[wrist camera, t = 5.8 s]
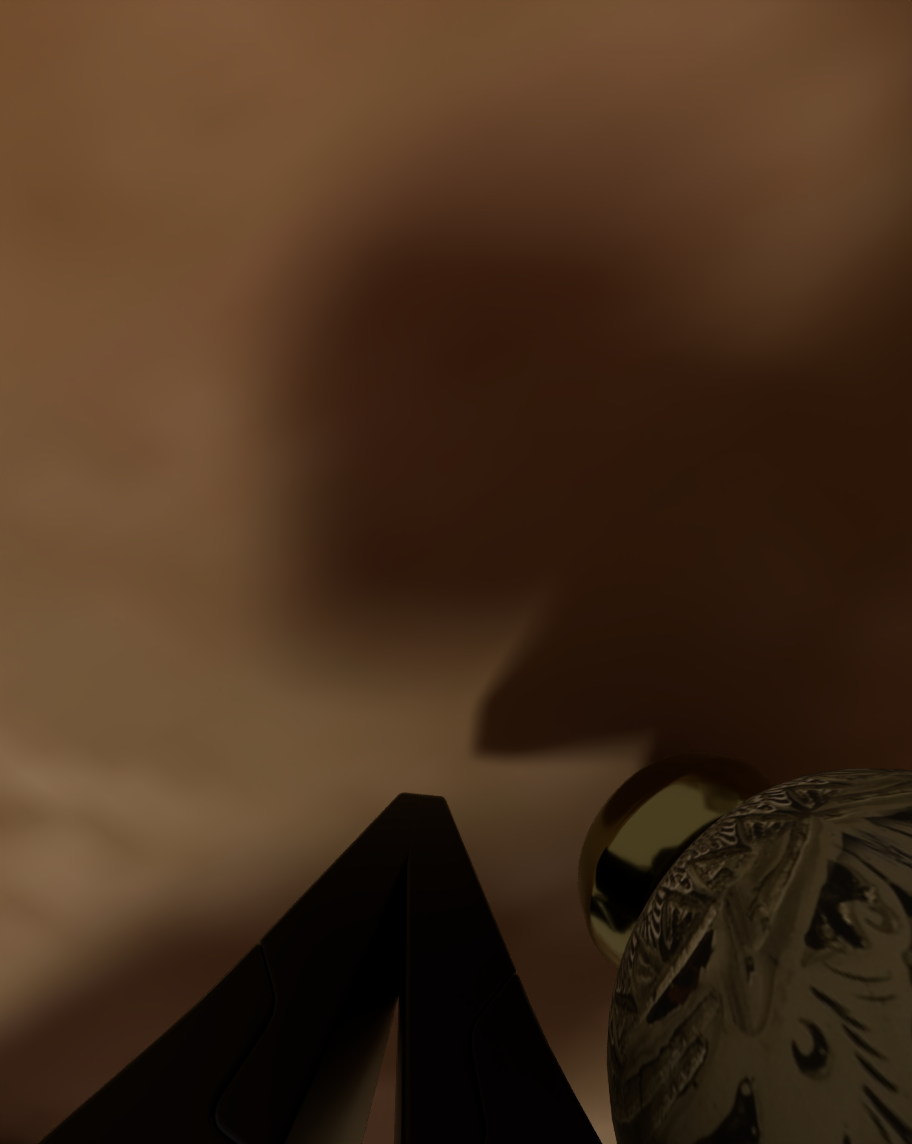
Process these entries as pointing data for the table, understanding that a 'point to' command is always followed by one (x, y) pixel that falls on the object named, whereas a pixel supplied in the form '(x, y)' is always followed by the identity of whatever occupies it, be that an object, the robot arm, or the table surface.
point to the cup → (755, 953)
